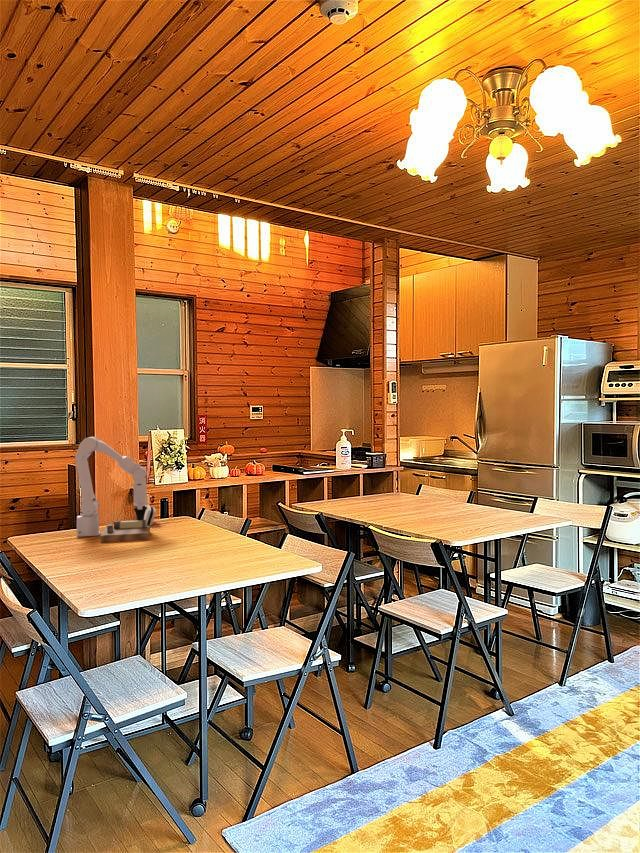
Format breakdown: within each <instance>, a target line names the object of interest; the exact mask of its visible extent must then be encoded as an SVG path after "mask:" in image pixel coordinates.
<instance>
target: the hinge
mask: <svg viewBox="0 0 640 853" xmlns="http://www.w3.org/2000/svg"><path fill="white" fill-rule="evenodd" d="M144 507H147V509H146V511H145V515H144V520H146V526H149V525H152V526H153V523H154V520H155V518H156V512H157V510H156V508H155V506H151V505H149V504H147V505H145V506H144Z"/></svg>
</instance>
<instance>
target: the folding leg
mask: <svg viewBox="0 0 640 853" xmlns="http://www.w3.org/2000/svg"><path fill="white" fill-rule="evenodd" d="M146 526H147V525H146V520H124V521H122V520H115V521H113V528H114V529H120V528H138V527H142V528H143V527H146Z"/></svg>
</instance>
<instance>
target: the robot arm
mask: <svg viewBox="0 0 640 853" xmlns="http://www.w3.org/2000/svg"><path fill="white" fill-rule="evenodd" d="M76 450H77V451H76V454H75V455H74V459H75V466H76V469H77V475H78V480H79V486H80V491H81V499H80V500H81V506H80V511H81V515H77V516H76V537H78V538H79V537H93V536H95V537H96V536H101V533H102V531H100V521H99V520H100V519H99V518H100V516H99V512H98V510H99V509H100V508H99V507H100V504H99V501H98V500H97V498H96V495H95V493H94V489H93V483H92V477H91V473H90V466H89V462H88V458H89V457H90V456H91V455H92V453H94V452H98V453H104V454H105V455H107V456H109V457H110V458H111V459H113V460H115V461H116V462H117V463H118V467H119V468H121V469H122V470H123V471H125V472H126V473H127V474H129V475H132V478H133V483H132V484H133V506H135V507H134V508H133V510H134V512H135V515H136V519H137V520H144V515H145V511H146V509H147V507H145V506H146V505H150V502H149V501H148V500H147V499H148V496H147V493H148V491H147V489H148V488H147V474H148V472H147V470H146V468H145V467H144V466H141V464H140V463H137V462H135V461H134V460H133V458H132V457H131V456H127V455H124V456H123V455H121V454H120V453H119V452H118V451H116V450H115V449H114V448H112V447H111V446H110V445H109V444H108V443H106V442H104V441H103V440H101V439H99V438H98V437H96V436H89V437H86V438H84V439H83V440H82V441H80V443H79V446H78V448H77V449H76Z"/></svg>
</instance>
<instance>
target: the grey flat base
mask: <svg viewBox="0 0 640 853" xmlns="http://www.w3.org/2000/svg"><path fill="white" fill-rule="evenodd" d="M99 536H100V543H101V542H104V543H116V542H115V541H121V542H134V541H133V540H138V541H150V538H149V537H150V536H151V526H149V525H146V527H143V528H142V527H138V528H120V529H114V523H107V526H106V527H104V528H103V529H102V531H101V533H100V535H99Z"/></svg>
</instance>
